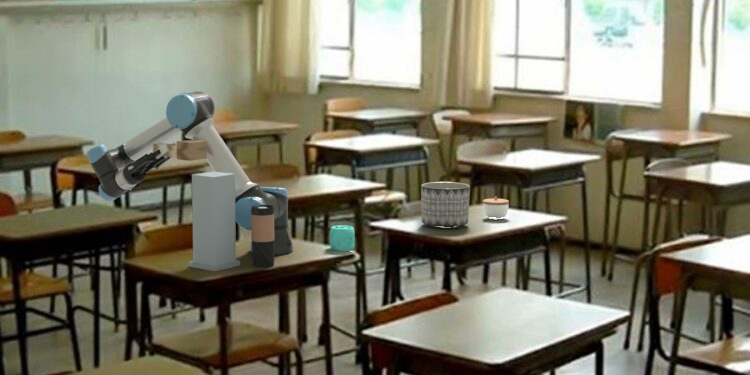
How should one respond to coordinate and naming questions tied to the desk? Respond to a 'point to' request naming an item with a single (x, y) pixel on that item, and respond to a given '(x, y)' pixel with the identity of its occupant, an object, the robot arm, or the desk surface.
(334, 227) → the decorative dice
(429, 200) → the planter
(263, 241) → the travel mug
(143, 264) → the desk surface
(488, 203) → the lidded jar
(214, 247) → the pedestal
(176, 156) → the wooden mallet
